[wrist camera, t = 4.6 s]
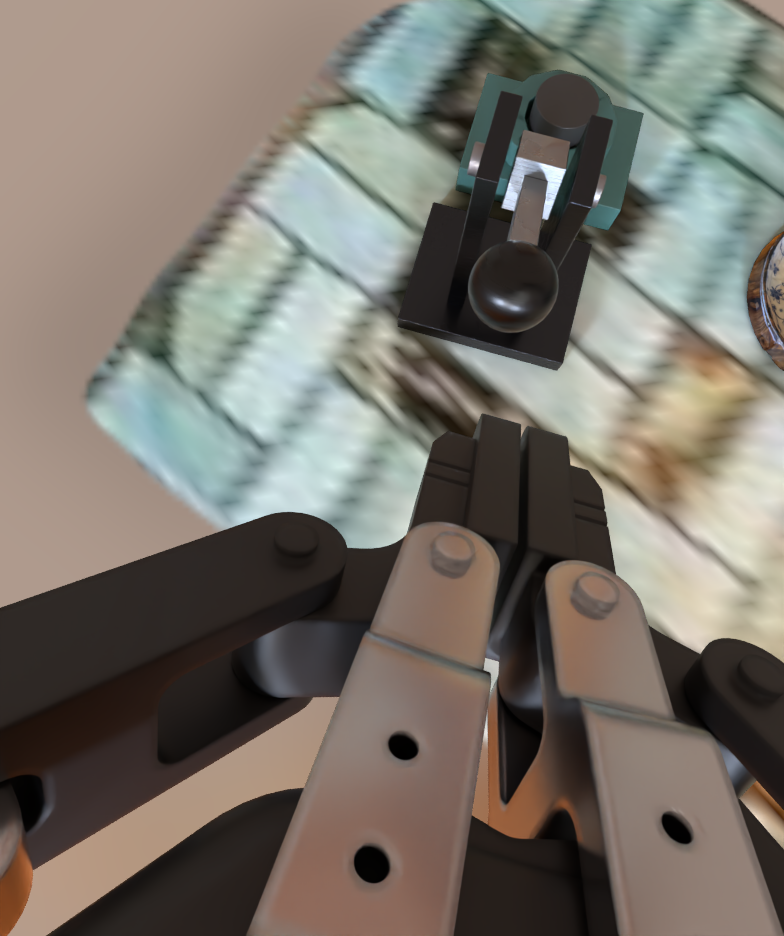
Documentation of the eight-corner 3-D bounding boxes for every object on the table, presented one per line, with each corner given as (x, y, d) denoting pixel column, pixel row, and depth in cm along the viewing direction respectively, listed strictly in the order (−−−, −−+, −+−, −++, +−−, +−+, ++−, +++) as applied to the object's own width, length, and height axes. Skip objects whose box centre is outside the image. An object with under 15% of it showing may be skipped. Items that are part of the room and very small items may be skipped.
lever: (537, 360, 23) (569, 286, 21) (452, 336, 24) (474, 260, 21) (559, 202, 31) (584, 135, 29) (495, 185, 31) (515, 116, 29)
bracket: (557, 371, 39) (642, 261, 26) (397, 327, 39) (406, 198, 27) (585, 254, 40) (679, 98, 28) (431, 213, 41) (455, 41, 28)
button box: (630, 137, 42) (656, 90, 38) (608, 230, 41) (632, 191, 37) (482, 99, 42) (492, 48, 39) (455, 190, 41) (463, 147, 37)
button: (595, 105, 38) (605, 82, 37) (582, 156, 38) (592, 135, 36) (536, 90, 38) (544, 66, 37) (522, 140, 38) (529, 119, 36)
